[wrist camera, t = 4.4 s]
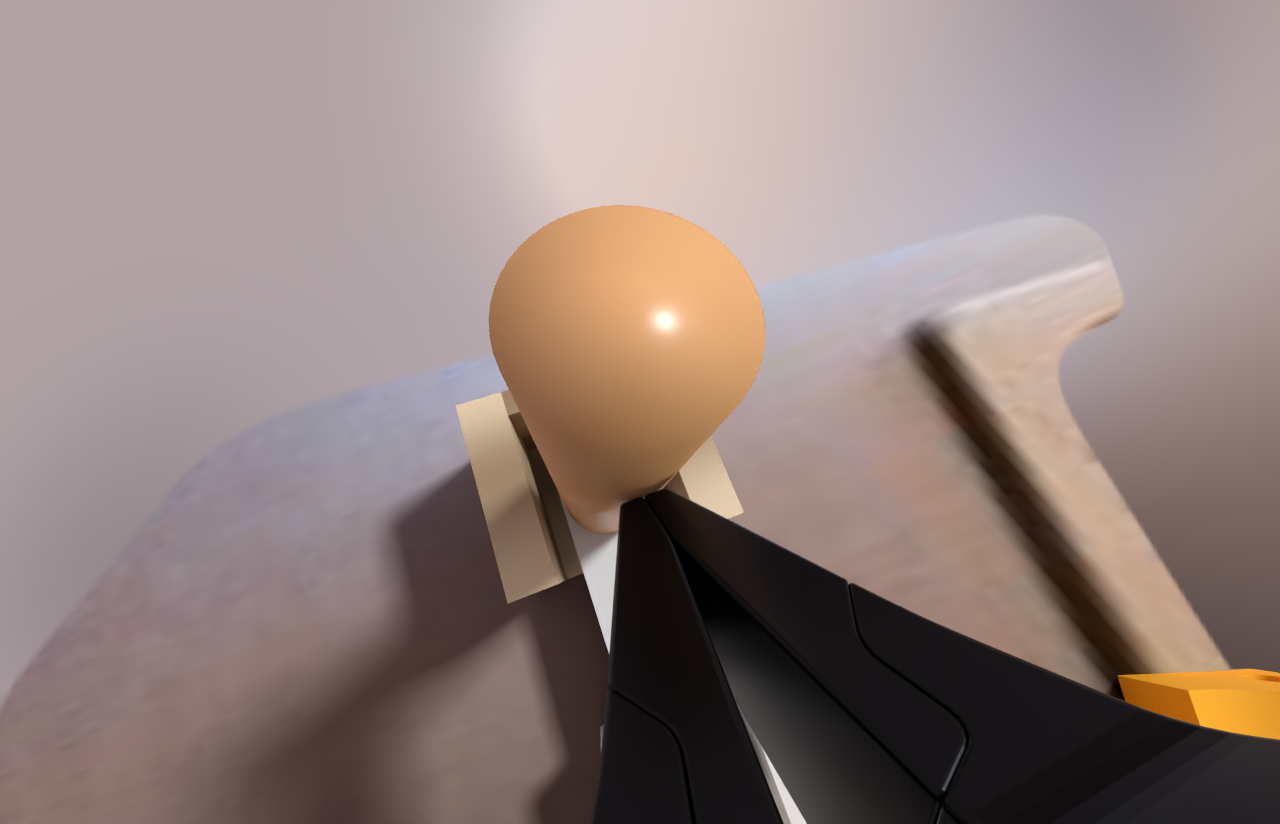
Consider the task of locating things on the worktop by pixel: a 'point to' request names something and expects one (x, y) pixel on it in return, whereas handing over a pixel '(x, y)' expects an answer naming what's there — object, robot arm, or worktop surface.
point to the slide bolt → (622, 360)
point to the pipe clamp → (1212, 698)
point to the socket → (550, 495)
